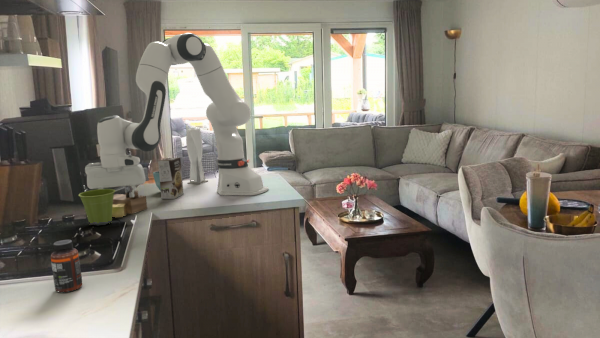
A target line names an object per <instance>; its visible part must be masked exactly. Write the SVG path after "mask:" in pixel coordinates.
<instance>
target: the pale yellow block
mask: <svg viewBox="0 0 600 338" xmlns="http://www.w3.org/2000/svg"><path fill="white" fill-rule="evenodd" d="M127 214H128V213H127V208H126V203H124V204H113V207H112V217H115V218H124V217H123V216H126V215H127Z"/></svg>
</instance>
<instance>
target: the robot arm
mask: <svg viewBox="0 0 600 338" xmlns="http://www.w3.org/2000/svg"><path fill="white" fill-rule="evenodd" d="M187 63H188V64H190V65H191V66H192V67H193V69H194V72H195V75H196V78H197V79H198V82H199V84H200V86H201V88H202V90H203V92H204V94H205V95H206V96H207V97H208V98H209V99H210V100H211V102H212V103H210V104H208V106H207V107H206V111H205V112H206V113H205V114H206V115H205V116H206V118H207V120H208V121H209V122H210V124H211V127H212V130H213V133H214V136H215V140H216V148H217V149H216V150H217V159H216V161H217V170H218V182H217V189H216V193H218V194H219V196H257V195H260V194H263V193H265V192H268V191H269V187H268V186H264V182H263V179H262V176H261V174H259V173H257V172H256V171H255V170H253V169H252V168H251V167H250V166H249V164H248V163H249V162H250V159H246V158H245V152H244V150H245V149H244V140H243V137H242V136H241V135H240V133H239V131H238V127H241V126H243V125H245V124H247V123H248V122H249V121H250V118H251V108H250V106H249V105H248V104H247V103H245V101H243V100H242V99H241V97H240V96H239V95H238V93H237V92H236V90H235V89H234V88H233V86H232V84H231V82H230V81H229V79H228V76H227V74H226V72H225V69H224V67H223V65H222V63H221V60H220V58H219V57H218V54H217V53H216V51H215V50H214V48H213V46H212V45H210V44H209V43H205V42H203V39H201V38H200V37H199V36H198V35H197V34H195V33H193V32H192V33H191V32H183V33H181V34H175V35H174V36H172V37H169V38H166V39H164V40H163V41H152V42H149V44H147V46H146V47H145V50H144V52H143V54H142V56H141V58H140V61H139V63H138V66H137V70H136V74H135V82H136V83H135V84H136V85H137V87H138V89H140V91H142V92H143V93H144V94H145V97H146V103H145V108H144V112H143V118H142V120H141V121H140V122H139V123H138V122H133V121H129V120H127V119H125V118H123V117H120V116H119V115H117V114H116V115H115V114H114V115H108V116H105V117H102V118H100V119H99V120H98V121H97V125H96V127H97V129H96V132H97V142H98V144H99V147H100V151H99V156H100V157H99V158H100V161H99V162H89V163H88V164H87V165H85V168H84V172H85V174H86V185H87V188H89V189H90V190H97V189H109V188H118V187H125V186H130V188H131V189H132V190H131V191H132V192H130V193H129V195H130V196H129V197H130V198H132V197H134V191H136V190H137V186H141V185H144V184H145V182H147V181H146V178H145V173H144V169H143V168H144V167H143V165H142V164H141V163H140V162H141V159H140V157H139V156H136V155H135V156H134V155H129V154H127V151H126V150H127V149H132V150H139V151H144V152H151V151H153V150H155V149H156V148H157V147H158V146H159V144H160V142H161V136H162V135H161V132H162V131H161V125H162V124H161V122H162V117H163V112H164V107H165V101H166V93H167V92H166V91H167V89H166V85H167V79H168V76H169V72H170V68H171V66H175V65H176V66H177V65H183V64H187Z"/></svg>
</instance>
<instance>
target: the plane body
mask: <svg viewBox="0 0 600 338" xmlns="http://www.w3.org/2000/svg"><path fill="white" fill-rule="evenodd" d="M130 192H132V190H130ZM124 203H126V208H127V214H131V215H132V214H136V213H138V212H141V211H145V210H148V204H147V203H148V202H147V196H146V195H139V191H138V190H135V191H134V197H132V198H130V197H128V198H126V194H123V193H122V194H121V193H120V194H119V193H116V194H115V193H114V198H113V204H124Z"/></svg>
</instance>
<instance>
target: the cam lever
mask: <svg viewBox="0 0 600 338" xmlns="http://www.w3.org/2000/svg"><path fill="white" fill-rule="evenodd" d="M143 169H144V173H145V178H146V181H145V182H148V181H150V178H149V171H148V167H143ZM130 191H131V186H124V193H125V195H126V198H128V197H129V196H130V195H129V193H130Z"/></svg>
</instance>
